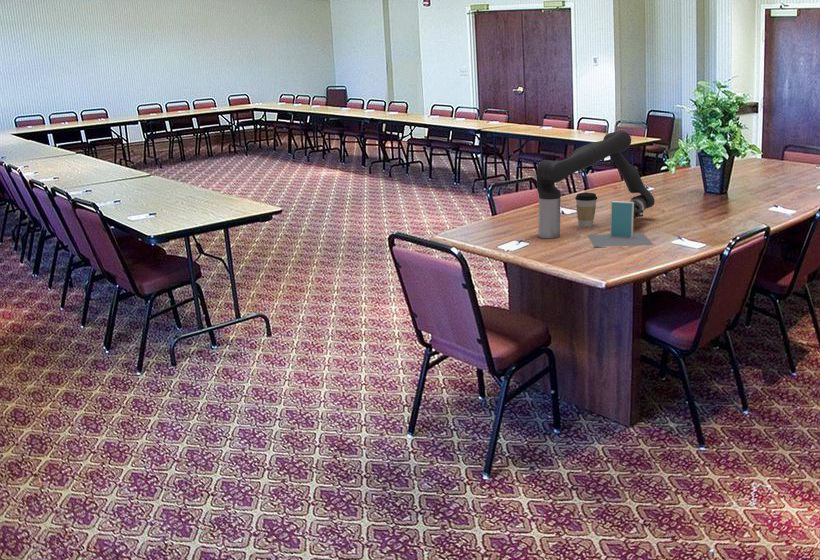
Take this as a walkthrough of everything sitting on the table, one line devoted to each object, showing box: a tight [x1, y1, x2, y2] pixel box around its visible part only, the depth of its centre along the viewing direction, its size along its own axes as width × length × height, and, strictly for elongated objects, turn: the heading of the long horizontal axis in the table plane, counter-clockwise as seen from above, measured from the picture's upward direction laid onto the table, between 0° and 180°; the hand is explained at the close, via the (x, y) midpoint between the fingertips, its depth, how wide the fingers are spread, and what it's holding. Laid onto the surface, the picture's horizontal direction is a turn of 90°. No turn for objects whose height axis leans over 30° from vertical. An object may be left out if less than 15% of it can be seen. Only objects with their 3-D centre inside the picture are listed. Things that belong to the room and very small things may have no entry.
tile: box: [610, 200, 634, 238], centre depth 331 cm, size 2×9×15 cm, turn 61°
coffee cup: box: [574, 192, 598, 229], centre depth 353 cm, size 10×10×15 cm
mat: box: [587, 232, 655, 249], centre depth 327 cm, size 24×20×1 cm
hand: (624, 216), depth 333 cm, fingers closed
